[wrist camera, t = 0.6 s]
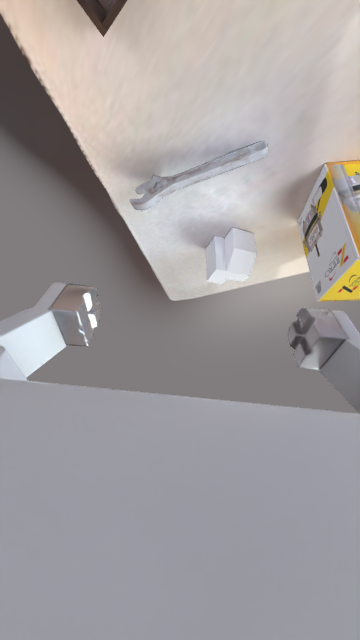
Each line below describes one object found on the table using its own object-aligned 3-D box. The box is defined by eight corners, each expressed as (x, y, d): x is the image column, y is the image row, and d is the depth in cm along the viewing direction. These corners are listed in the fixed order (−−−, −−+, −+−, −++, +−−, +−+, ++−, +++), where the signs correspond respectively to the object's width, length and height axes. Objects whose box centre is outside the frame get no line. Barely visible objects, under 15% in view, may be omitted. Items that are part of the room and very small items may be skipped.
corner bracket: (205, 249, 76) (206, 281, 71) (221, 224, 66) (224, 259, 61) (234, 256, 79) (237, 287, 74) (254, 233, 69) (259, 267, 64)
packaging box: (324, 163, 50) (358, 257, 40) (406, 156, 49) (462, 252, 39) (297, 221, 65) (317, 301, 55) (359, 218, 64) (391, 299, 54)
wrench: (262, 140, 49) (133, 190, 56) (262, 130, 47) (129, 184, 54) (272, 164, 45) (133, 214, 53) (273, 154, 44) (129, 208, 51)
